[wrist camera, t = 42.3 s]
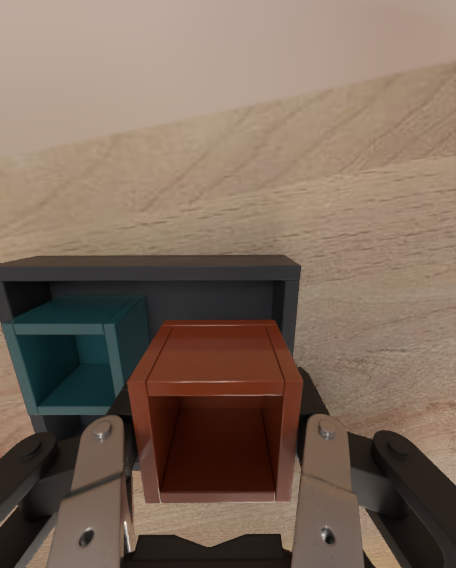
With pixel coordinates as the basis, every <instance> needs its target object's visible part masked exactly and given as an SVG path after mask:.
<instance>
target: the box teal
mask: <svg viewBox="0 0 456 568" xmlns="http://www.w3.org/2000/svg"><path fill="white" fill-rule="evenodd" d="M1 327H2V330H3V334H4V337H5V340H6V343H7V347H8V350H9V353H10V356H11V360H12V363H13V366H14V370H15V373H16V376H17V379H18V383H19V386H20V389H21V392H22V396H23V399H24V402H25V406H26V409H27V412H28V415H106V413H107V412H108V410H109V409H110V407H111V405H112V404H113V402H114V400H115V399H116V397H117V395H118V394H119V392H120V391H121V389H122V387H123V386H124V384H125V382H126V381H127V379H128V378H129V376H130V374H132V373H133V371H134V369H135V368H136V366H137V364H138V363H139V361H140V359H141V358H142V356H143V355H144V353H145V351H146V350H147V348H148V346H149V345H150V343H151V338H150V329H149V319H148V310H147V300H146V295H62V296H60V297H58V298H55V299H53V300H51V301H49V302H47V303H45V304H43V305H41V306H38V307H36V308H34V309H32V310H30V311H28V312H26V313H24V314H21V315H19V316H17V317H15V318H13V319H11V320H9V321H7V322H4V323H2V324H1Z"/></svg>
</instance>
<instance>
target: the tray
mask: <svg viewBox="0 0 456 568" xmlns="http://www.w3.org/2000/svg"><path fill="white" fill-rule="evenodd" d="M300 272H301V265H299V264H298V263H296V262H294V261H293V260H291V259H290V258H288V257H287V256H285V255H142V256H35V257H30V258H25V259H20V260H15V261H10V262H5V263H0V322H1V324H2V323H4V322H7V321H9V320H11V319H13V318H15V317H17V316H19V315H21V314H24V313H26V312H28V311H30V310H32V309H34V308H36V307H38V306H41V305H43V304H45V303H47V302H49V301H51V300H53V299H55V298H58V297H60V296H62V295H146V300H147V310H148V319H149V329H150V338H151V341H152V340H153V338H154V337H155V335H156V333H157V332H158V330H159V328H160V327H161V325H162V324H163V322H164V320H275V321H276V323H277V326H278V328H279V330H280V332H281V334H282V336H283V338H284V340H285V343H286V345H287V347H288V349H289V351H290V353H291V355H292V358H293V349H294V338H295V326H296V315H297V304H298V292H299V280H300ZM104 416H105V415H30V418H31V422H32V425H33V428H34V431H35V434H36V433H40V432H51V433H53V434H54V435H55V437H56V440H57V441H61V440H64V439H68V438H71V437H75V436H78V435H81V434H82V433H83V432H84V430H85V429H86V428H87V427H88V426H89V425H90V424H91V423H92V422H94V421H95V420H97V419H99V418H101V417H104ZM132 471H141V470H140V463H139V461H136V462H135V465H134V467H133V470H132Z"/></svg>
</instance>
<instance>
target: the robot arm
mask: <svg viewBox="0 0 456 568" xmlns="http://www.w3.org/2000/svg"><path fill="white" fill-rule="evenodd" d="M297 368H298V371H299V373H300V375H301V377H302V379H303V388H302V398H301V407H300V416H299V426H298V435H297V444H296V454H295V460H299V462H300V465H301V477H300V486H299V495H298V504H297V512H296V521H295V530H294V539H293V547H292V552H290V551H288V550H286V549H283V547H282V541H281V535H280V534H245V535H242V536H240V537H237V538H234V539H232V540H229V541H226V542H224V543H221V544H218V545H216V546H213V547H205V546H202V545H200V544H197V543H194V542H192V541H189V540H186V539H184V538H181V537H178V536H176V535H139V537H138V541H137V544H135V532H134V507H133V478H132V470H133V467H134V465H135V462H136V461H139V457H138V450H137V444H136V437H135V431H134V424H133V418H132V411H131V405H130V398H129V392H128V385H127V381H128V379H129V378H130V376H131V374H130V376H129V378H128V379H127V381H126V382H125V384H124V386H123V387H122V389H121V391H120V392H119V394H118V395H117V397H116V399H115V400H114V402H113V404H112V405H111V407H110V409H109V410H108V412H107V413H106V415H105V416H104V417H101V418H99V419H97V420H95V421H94V422H92V423H91V424H90V425H89V426H88V427H87V428H86V429H85V430H84V432H83V433H82V434H81V435H78V436H75V437H71V438H68V439H64V440H61V441H57V440H56V437H55V435H54V434H53V433H51V432H40V433H36V434H34V435H31V436H29V437H27V438H25V439H24V440H22V441H20V442H19V443H18V444H16V445H15V446H14V447H13V448H12V449H11V450H9V451H8V452H7V453H6V454H5V455H4V456H3V457H2V458H0V523H1V522H2V521H3V520H4V519H5V518H6V517H7V516H8V514H9V513H10V512H11V511H12V510H13V509H14V508H15V506H16V505H17V504H18V507H17V509H16V510H15V511H14V512H13V513H12V514H11V515H10V517H9V518H8V519H7V520H6V521H5V522H4V524H3V525H2V526H1V527H0V568H26V566H27V565H28V563H29V562H30V561H31V559H32V558H33V556H34V555H35V553H36V552H37V551H38V549H39V548H40V546H41V545H42V543H43V542H44V541H45V539H46V538H47V536H48V535H49V533H50V532H51V530H52V529H53V528H54V526H55V525H56V526H55V530H54V535H53V539H52V544H51V549H50V553H49V558H48V562H47V567H46V568H364V558H363V547H362V537H361V527H360V517H359V507H358V506H361V507H364V508H365V509H366V511H367V513H368V514H369V516H370V517H371V519H372V521H373V522H374V524H375V526H376V527H377V529H378V530H379V532H380V534H381V535H382V537H383V538H384V540H385V542H386V543H387V545H388V546H389V548H390V550H391V551H392V553H393V555H394V556H395V558H396V559H397V561H398V563H399V564H400V566H401V567H402V568H456V485H455V484H454V483H453V482H452V481H451V480H450V479H449V478H448V477H447V476H446V475H445V474H443V473H442V472H441V471H440V470H439V469H438V468H437V467H436V466H435V465H434V464H433V463H432V462H431V461H430V460H429V459H428V458H427V457H426V456H425V455H424V454H423V453H422V452H421V451H420V450H419V449H418V448H417V447H416V446H415V445H414V444H413V443H412V442H411V441H409V440H408V439H407V438H405V437H403V436H402V435H400V434H397V433H395V432H392V431H387V430H382V431H378V432H376V433H375V434H374V437H373V439H370V438H366V437H363V436H359V435H355V434H352V433H350V432H348V431H346V429H345V427H344V426H343V425H342V424H341V423H340V422H339V421H338V420H337V419H335V418H333V417H331V416H330V414H329V412H328V410H327V408H326V407H325V405H324V403H323V401H322V399H321V397H320V395H319V393H318V391H317V390H316V387H315V385H314V383H313V382H312V380H311V378H310V376H309V374H308V373H307V372H306V371H305V370H304V369H302V368H301V367H297Z"/></svg>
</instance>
